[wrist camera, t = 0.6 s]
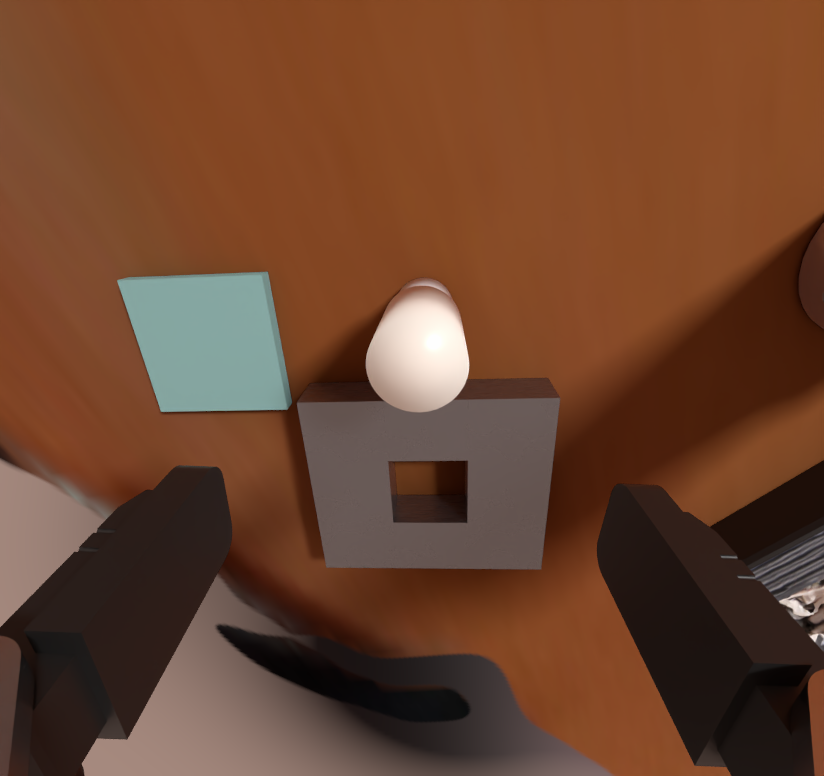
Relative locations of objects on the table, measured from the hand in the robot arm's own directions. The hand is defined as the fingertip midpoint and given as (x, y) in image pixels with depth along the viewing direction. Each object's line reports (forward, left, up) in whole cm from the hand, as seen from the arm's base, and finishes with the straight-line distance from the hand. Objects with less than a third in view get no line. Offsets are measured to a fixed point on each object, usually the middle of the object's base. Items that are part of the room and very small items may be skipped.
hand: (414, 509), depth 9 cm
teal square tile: (+14, +2, -19) cm, 24 cm away
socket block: (0, +12, -19) cm, 23 cm away
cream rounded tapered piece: (0, 0, -19) cm, 19 cm away
